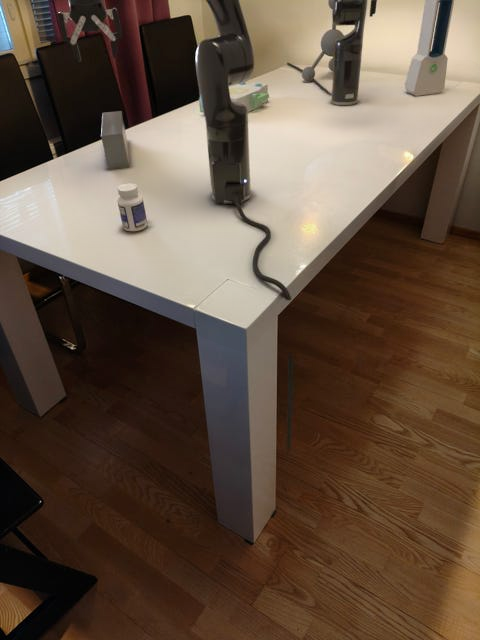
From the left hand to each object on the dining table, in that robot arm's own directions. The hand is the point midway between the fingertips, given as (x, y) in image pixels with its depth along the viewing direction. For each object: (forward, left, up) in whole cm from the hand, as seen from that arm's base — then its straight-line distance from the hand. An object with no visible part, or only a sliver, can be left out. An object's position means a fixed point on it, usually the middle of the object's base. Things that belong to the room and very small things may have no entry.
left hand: (97, 59), depth 121 cm
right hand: (+33, -63, +3) cm, 72 cm away
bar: (+8, +3, -26) cm, 28 cm away
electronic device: (+75, -92, -26) cm, 122 cm away
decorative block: (+56, -24, -26) cm, 66 cm away
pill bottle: (-37, -17, -26) cm, 49 cm away
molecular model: (+100, -56, -26) cm, 117 cm away
